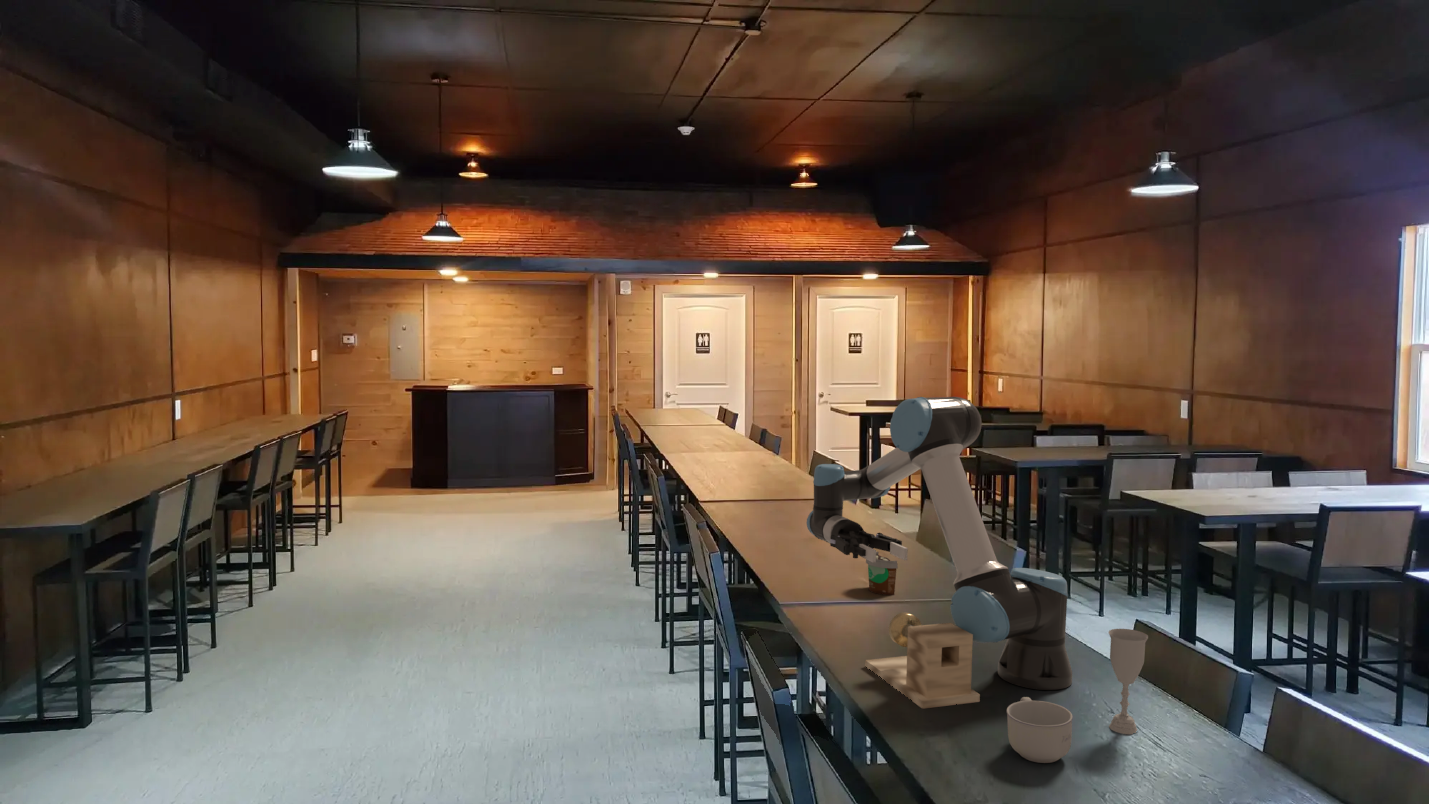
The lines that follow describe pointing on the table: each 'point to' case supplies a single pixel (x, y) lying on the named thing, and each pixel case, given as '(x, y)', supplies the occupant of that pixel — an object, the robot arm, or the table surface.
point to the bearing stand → (932, 666)
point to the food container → (882, 575)
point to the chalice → (1126, 671)
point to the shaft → (902, 627)
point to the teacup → (1039, 730)
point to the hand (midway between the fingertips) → (890, 555)
